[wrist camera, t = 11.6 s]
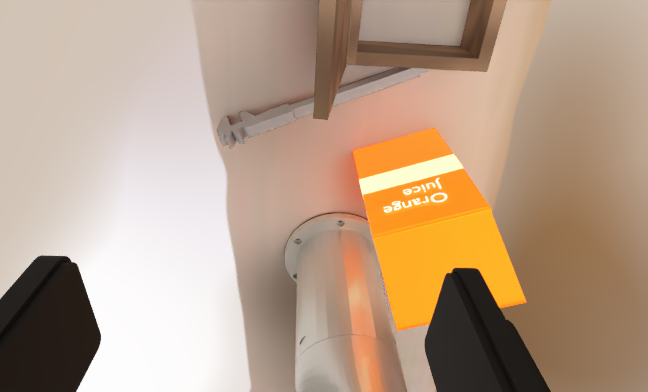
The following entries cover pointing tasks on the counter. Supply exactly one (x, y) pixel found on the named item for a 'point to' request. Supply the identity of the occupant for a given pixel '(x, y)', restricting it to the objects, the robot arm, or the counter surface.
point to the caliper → (308, 106)
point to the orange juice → (429, 225)
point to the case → (395, 47)
